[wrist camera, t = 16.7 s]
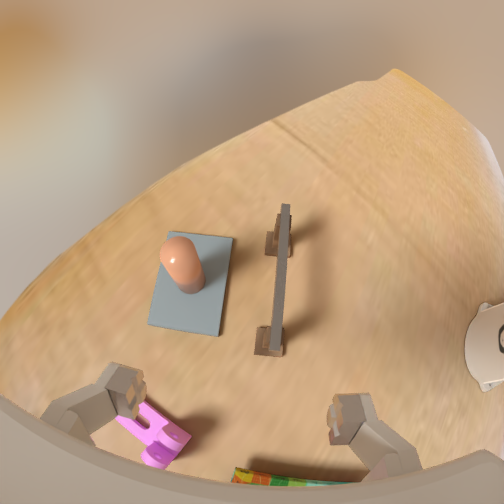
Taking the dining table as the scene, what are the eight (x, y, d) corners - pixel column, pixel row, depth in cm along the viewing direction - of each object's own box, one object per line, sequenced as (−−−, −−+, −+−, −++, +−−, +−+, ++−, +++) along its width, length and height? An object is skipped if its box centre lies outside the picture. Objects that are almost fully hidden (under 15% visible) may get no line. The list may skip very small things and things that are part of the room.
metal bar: (289, 209, 40) (290, 204, 39) (278, 351, 32) (279, 350, 31) (280, 208, 40) (281, 203, 39) (268, 350, 32) (269, 350, 31)
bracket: (192, 436, 33) (182, 446, 27) (172, 460, 31) (160, 474, 25) (124, 382, 36) (104, 382, 30) (107, 407, 34) (85, 410, 28)
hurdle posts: (290, 236, 47) (298, 210, 40) (281, 357, 39) (290, 352, 32) (266, 233, 48) (271, 207, 40) (254, 354, 39) (256, 349, 32)
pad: (232, 240, 47) (232, 238, 46) (218, 336, 40) (217, 335, 39) (169, 233, 47) (168, 231, 46) (148, 324, 40) (147, 324, 40)
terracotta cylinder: (208, 268, 44) (199, 238, 35) (202, 296, 42) (191, 272, 33) (179, 264, 44) (164, 234, 35) (174, 291, 42) (155, 267, 33)
